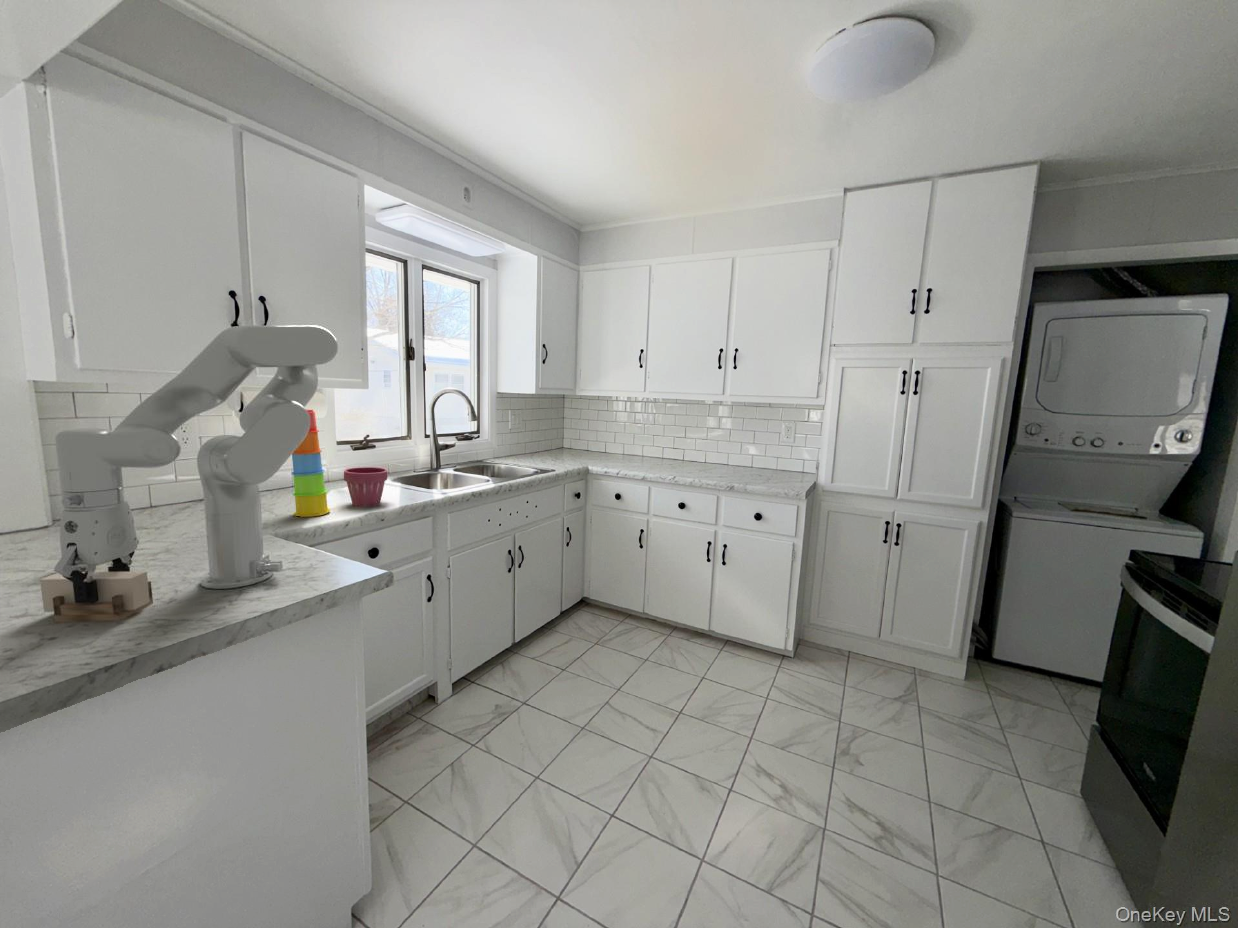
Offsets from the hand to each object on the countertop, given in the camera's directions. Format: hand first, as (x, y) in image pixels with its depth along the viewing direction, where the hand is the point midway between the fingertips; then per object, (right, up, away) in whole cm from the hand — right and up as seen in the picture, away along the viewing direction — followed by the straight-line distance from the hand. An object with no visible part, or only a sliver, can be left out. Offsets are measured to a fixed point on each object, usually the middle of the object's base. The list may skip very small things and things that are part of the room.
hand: (104, 593), depth 89 cm
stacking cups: (-8, +7, +73) cm, 74 cm away
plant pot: (+1, +9, +90) cm, 90 cm away
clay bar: (-1, -2, 0) cm, 3 cm away
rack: (0, -4, 0) cm, 4 cm away
